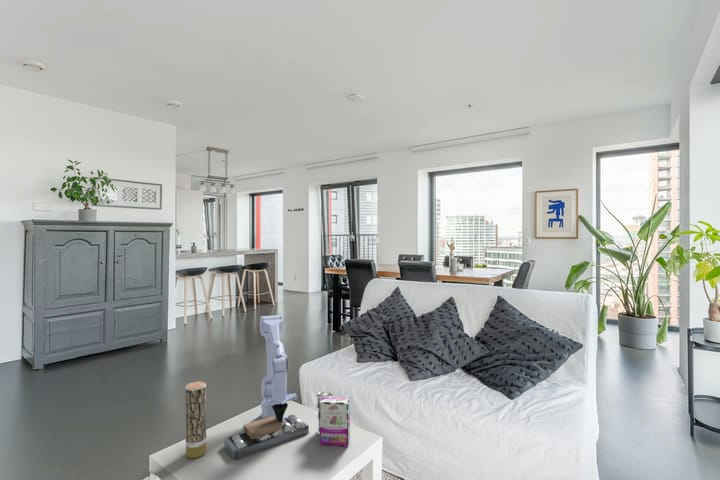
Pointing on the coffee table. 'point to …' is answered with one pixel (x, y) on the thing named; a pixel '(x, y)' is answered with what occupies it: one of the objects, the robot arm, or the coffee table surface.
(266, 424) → the slab
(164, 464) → the coffee table surface
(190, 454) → the paper tube
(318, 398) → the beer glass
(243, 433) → the roller bed
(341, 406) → the candy bar box
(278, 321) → the robot arm
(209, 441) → the coffee table surface
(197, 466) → the coffee table surface
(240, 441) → the roller
